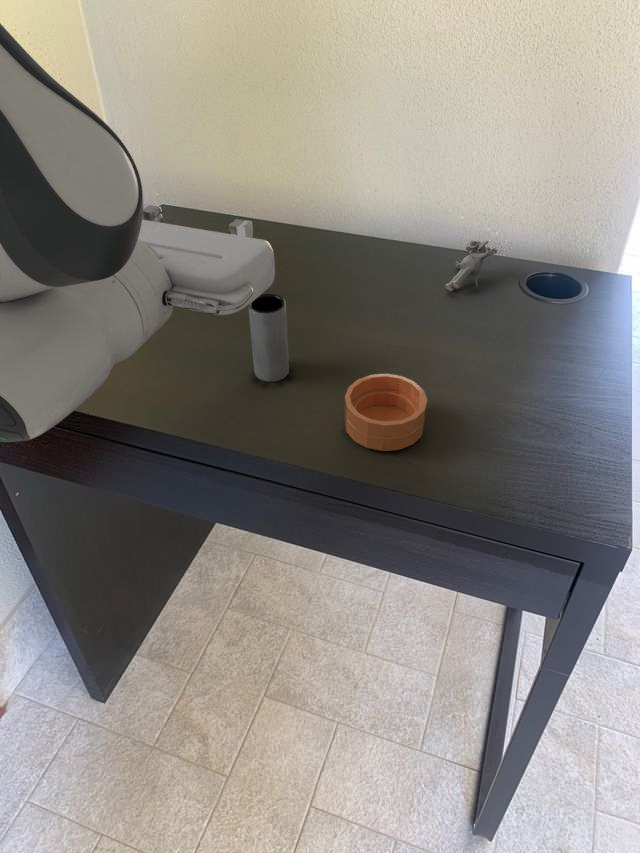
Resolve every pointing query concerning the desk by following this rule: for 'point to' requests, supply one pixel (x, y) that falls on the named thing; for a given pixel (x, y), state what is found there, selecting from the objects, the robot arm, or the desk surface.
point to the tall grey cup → (269, 337)
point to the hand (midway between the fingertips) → (199, 219)
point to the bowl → (385, 412)
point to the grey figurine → (471, 263)
